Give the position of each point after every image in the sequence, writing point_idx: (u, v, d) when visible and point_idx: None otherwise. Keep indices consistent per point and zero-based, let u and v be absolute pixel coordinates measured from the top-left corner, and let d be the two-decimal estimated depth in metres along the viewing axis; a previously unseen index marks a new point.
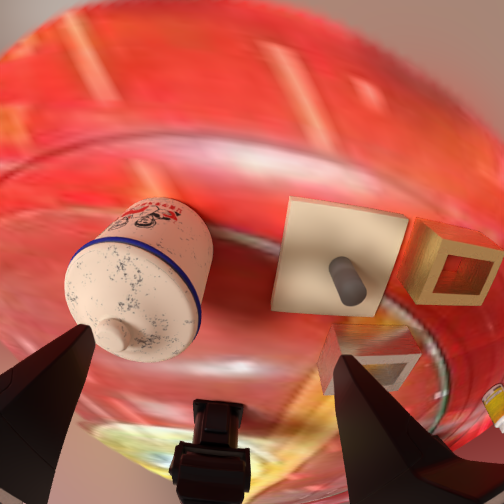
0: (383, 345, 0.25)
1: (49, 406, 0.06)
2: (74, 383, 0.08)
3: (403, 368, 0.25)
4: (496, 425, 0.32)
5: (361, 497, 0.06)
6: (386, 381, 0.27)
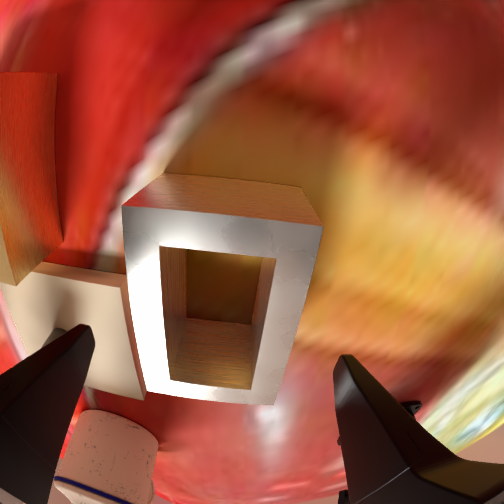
0: None
1: (49, 406, 0.06)
2: (74, 383, 0.08)
3: (190, 247, 0.09)
4: None
5: (361, 497, 0.06)
6: (272, 269, 0.10)
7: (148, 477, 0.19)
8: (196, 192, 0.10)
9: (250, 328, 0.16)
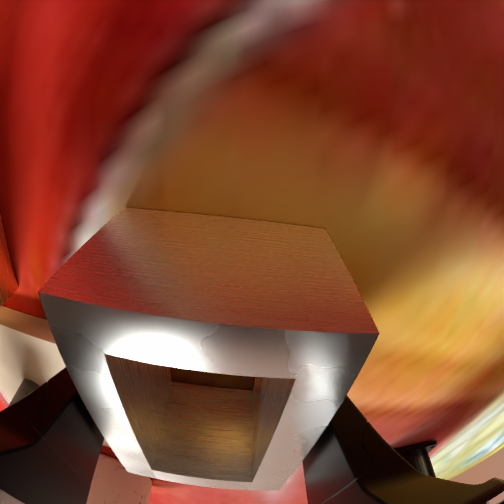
0: None
1: (88, 420, 0.06)
2: None
3: (153, 359, 0.05)
4: None
5: (317, 503, 0.06)
6: (285, 378, 0.06)
7: None
8: (163, 254, 0.06)
9: (251, 396, 0.12)
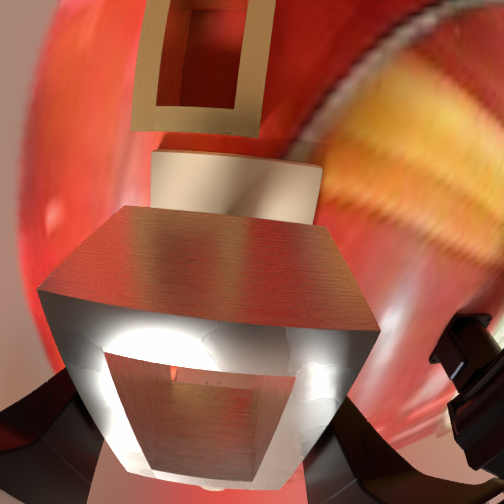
0: None
1: (88, 420, 0.06)
2: None
3: (153, 357, 0.05)
4: None
5: (317, 503, 0.06)
6: (286, 376, 0.06)
7: None
8: (163, 251, 0.06)
9: (251, 395, 0.12)
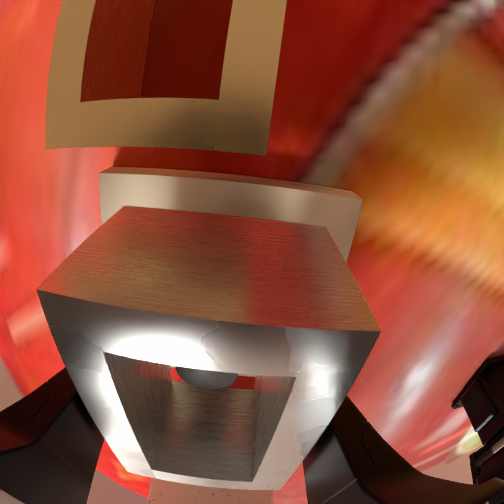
0: None
1: (88, 420, 0.06)
2: None
3: (153, 356, 0.05)
4: None
5: (317, 503, 0.06)
6: (286, 376, 0.06)
7: None
8: (163, 251, 0.06)
9: (251, 395, 0.12)
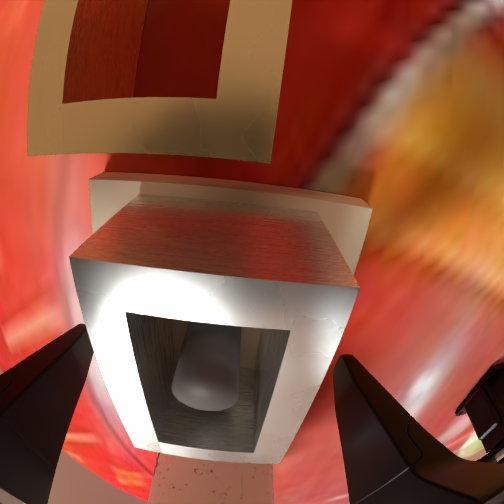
0: None
1: (49, 406, 0.06)
2: (74, 383, 0.08)
3: (168, 314, 0.06)
4: None
5: (361, 497, 0.06)
6: (282, 336, 0.07)
7: (273, 494, 0.15)
8: (177, 228, 0.07)
9: (252, 373, 0.13)
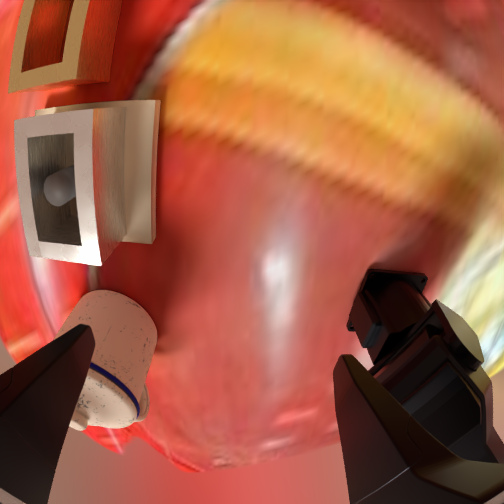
0: None
1: (49, 406, 0.06)
2: (74, 383, 0.08)
3: (40, 135, 0.12)
4: None
5: (361, 497, 0.06)
6: None
7: (144, 362, 0.21)
8: None
9: None
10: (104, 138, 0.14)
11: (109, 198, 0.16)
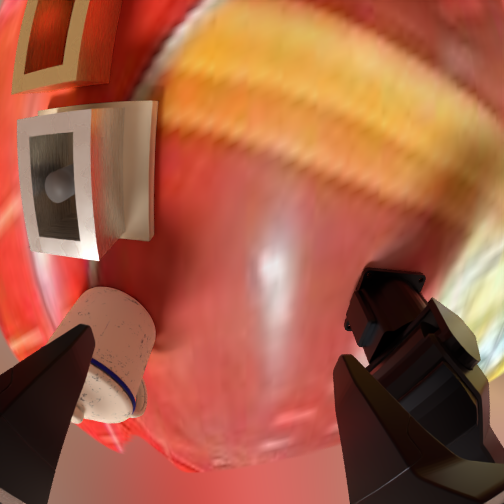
0: None
1: (49, 406, 0.06)
2: (74, 383, 0.08)
3: (41, 135, 0.13)
4: None
5: (361, 497, 0.06)
6: None
7: (141, 358, 0.21)
8: None
9: None
10: (102, 137, 0.14)
11: (107, 195, 0.16)
